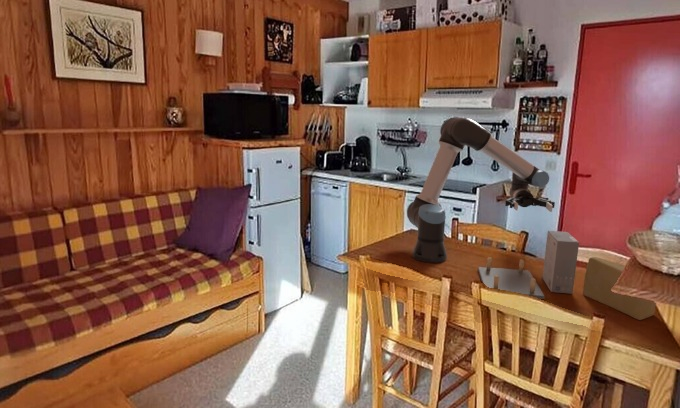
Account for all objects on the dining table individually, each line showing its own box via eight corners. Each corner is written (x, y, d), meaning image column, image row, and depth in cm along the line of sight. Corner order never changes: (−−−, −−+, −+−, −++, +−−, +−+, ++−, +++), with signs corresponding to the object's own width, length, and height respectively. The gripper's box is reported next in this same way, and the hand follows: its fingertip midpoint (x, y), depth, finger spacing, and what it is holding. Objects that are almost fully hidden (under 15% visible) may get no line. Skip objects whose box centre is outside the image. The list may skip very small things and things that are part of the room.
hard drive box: (573, 294, 167) (579, 242, 162) (550, 292, 168) (556, 241, 164) (561, 279, 182) (567, 231, 177) (541, 277, 183) (546, 229, 179)
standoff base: (485, 294, 165) (487, 278, 164) (478, 270, 190) (479, 255, 189) (544, 299, 162) (546, 282, 160) (528, 273, 187) (530, 258, 185)
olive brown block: (575, 296, 165) (580, 257, 162) (591, 291, 170) (596, 253, 167) (639, 321, 146) (646, 278, 143) (655, 315, 151) (662, 272, 148)
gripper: (551, 206, 209) (564, 217, 189) (494, 204, 214) (502, 215, 193) (552, 190, 208) (566, 200, 187) (495, 188, 212) (503, 198, 192)
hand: (534, 207), depth 190 cm, fingers open, 13 cm apart
